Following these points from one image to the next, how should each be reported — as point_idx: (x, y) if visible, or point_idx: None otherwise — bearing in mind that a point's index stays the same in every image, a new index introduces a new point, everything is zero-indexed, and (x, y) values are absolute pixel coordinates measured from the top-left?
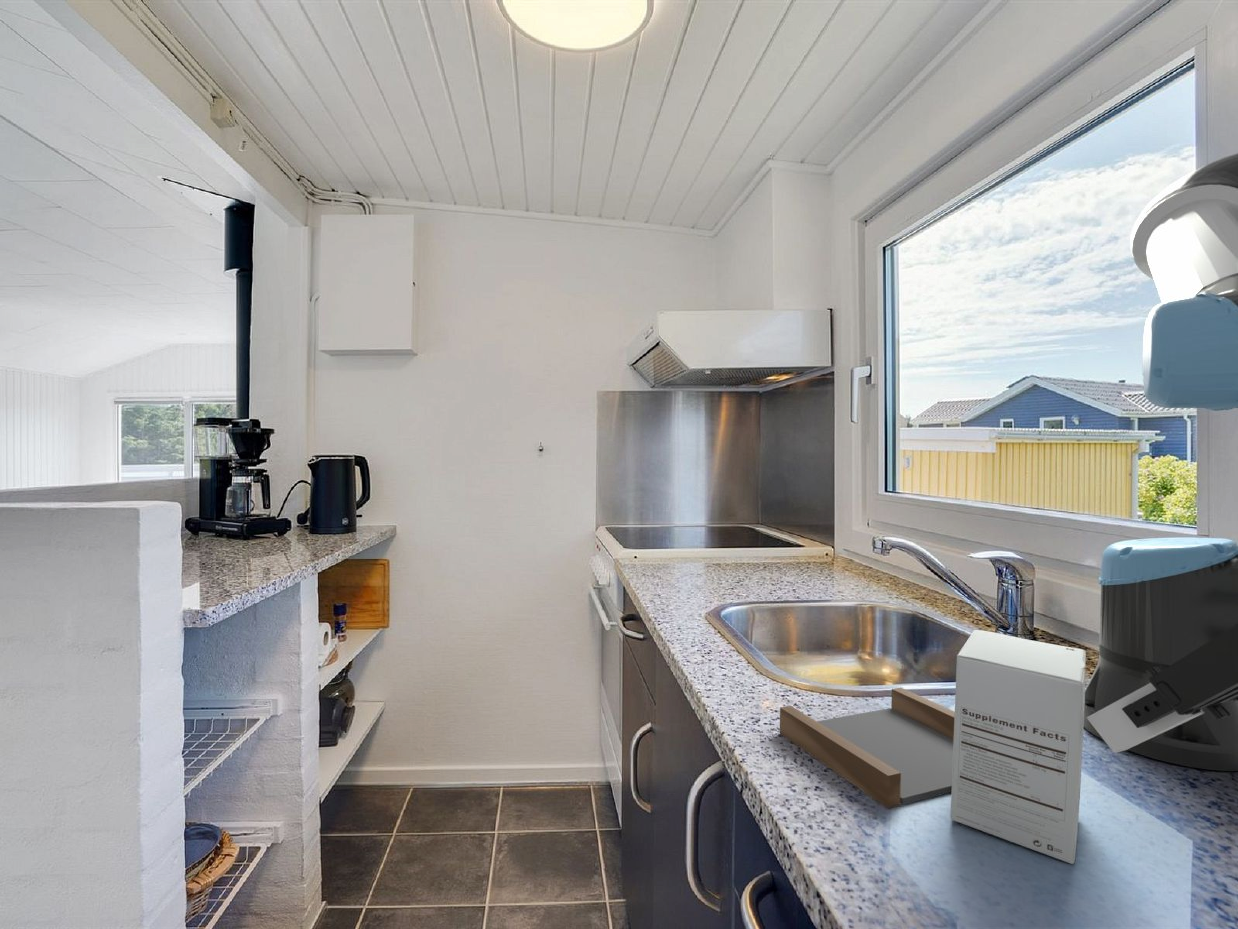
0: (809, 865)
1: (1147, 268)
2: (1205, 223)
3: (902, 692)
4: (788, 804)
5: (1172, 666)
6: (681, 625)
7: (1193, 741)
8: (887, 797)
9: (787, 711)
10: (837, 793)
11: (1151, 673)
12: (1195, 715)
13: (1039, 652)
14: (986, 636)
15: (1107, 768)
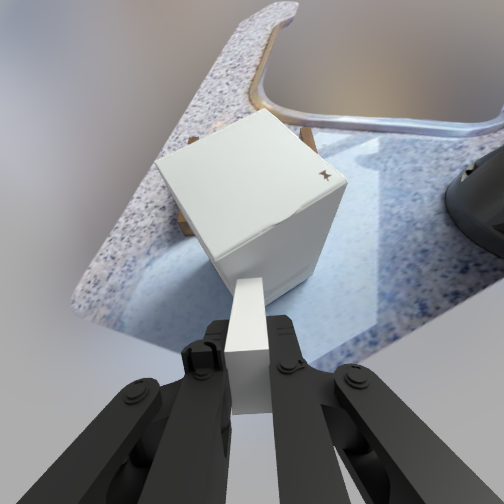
0: (88, 268)
1: None
2: None
3: (304, 133)
4: (130, 217)
5: (48, 472)
6: (247, 36)
7: None
8: (183, 231)
9: (188, 142)
10: (169, 215)
11: (188, 355)
12: (244, 413)
13: (262, 175)
14: (249, 126)
15: (407, 235)
